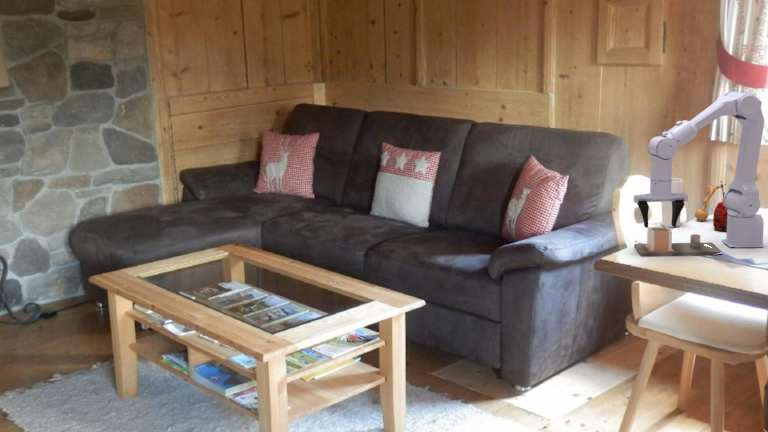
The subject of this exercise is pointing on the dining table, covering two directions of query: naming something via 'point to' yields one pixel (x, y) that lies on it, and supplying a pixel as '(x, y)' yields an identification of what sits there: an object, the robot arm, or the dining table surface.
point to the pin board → (681, 249)
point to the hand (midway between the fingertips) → (659, 226)
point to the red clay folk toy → (720, 214)
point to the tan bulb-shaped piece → (702, 213)
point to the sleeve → (659, 238)
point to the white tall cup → (667, 205)
